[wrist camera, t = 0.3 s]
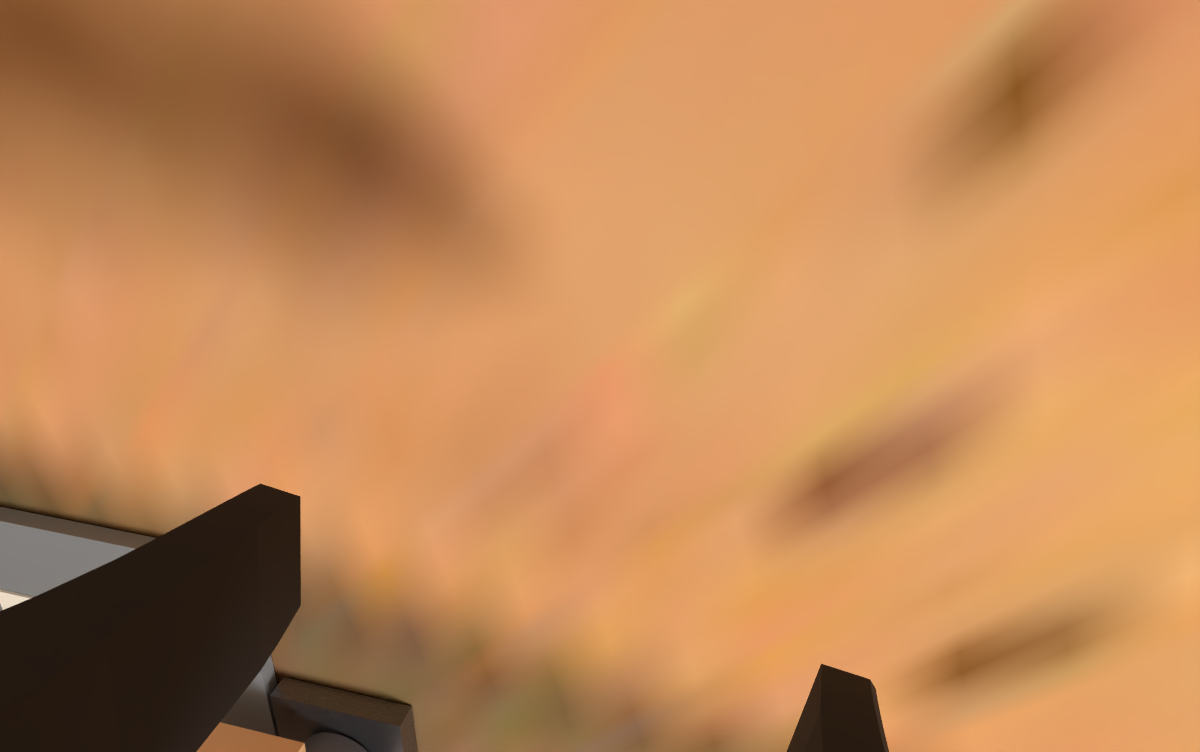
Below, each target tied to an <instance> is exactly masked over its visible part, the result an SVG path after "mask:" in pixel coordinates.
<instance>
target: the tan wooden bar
mask: <svg viewBox="0 0 1200 752" xmlns="http://www.w3.org/2000/svg"><path fill="white" fill-rule="evenodd" d="M197 752H367V751H366V750H365V749H364V748H363V747H362V746H360V745H359V744H358V743H356V742H354V741H353V740H351V739H349V738H347V737H344V736H342V735H339V734H335V733H327V732H323V733H317V734H314V735H312V736H310V737H309V738H308V739H307V740H306V742H305V743H302V742H298V741H294V740H290V739H286V738H282V737H278V736H274V735H270V734H266V733H262V732H258V731H253V730H249V729H245V728H241V727H237V726H233V725H229V724H225V723H221V722H220V723H219V724H218V725H217V727H216V728H215V729H214V730H213V732H212V733H211V734H210V735H209V737H208V738H207V739H206V740H205V742H204V743H203V744H202V745H201V747H200V748H199V749H198V750H197Z"/></svg>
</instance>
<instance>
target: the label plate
mask: <svg viewBox="0 0 1200 752" xmlns="http://www.w3.org/2000/svg"><path fill="white" fill-rule="evenodd" d="M154 539H156V538H154V537H149V536H144V535H139V534H134V533H129V532H124V531H119V530H115V529H110V528H105V527H100V526H95V525H90V524H85V523H80V522H75V521H70V520H65V519H60V518H55V517H50V516H45V515H40V514H35V513H30V512H25V511H20V510H15V509H10V508H5V507H0V611H2V610H4V609H7V608H9V607H11V606H14V605H16V604H19V603H21V602H23V601H26V600H28V599H31V598H33V597H35V596H38V595H40V594H42V593H44V592H46V591H48V590H51V589H53V588H55V587H57V586H59V585H61V584H63V583H66V582H68V581H70V580H72V579H74V578H76V577H79V576H81V575H83V574H85V573H87V572H89V571H91V570H94V569H96V568H98V567H100V566H102V565H104V564H107V563H109V562H111V561H113V560H115V559H117V558H119V557H121V556H123V555H125V554H127V553H129V552H131V551H133V550H135V549H136V548H138V547H140V546H142V545H144V544H146V543H148V542H150V541H152V540H154ZM276 687H277V680H276V676H275V671H274V667H273V662H272V658H271V655H270V657H269V658H268V660H267V662H266V663H265V665H264V666H263V668H262V669H261V671H260V672H259V673H258V675H257V676H256V677H255V678H254V680H253V681H252V682H251V684H250V685H249V686H248V688H247V689H246V690H245V691H244V693H243V694H242V695H241V696H240V698H239V699H238V700H237V701H236V703H235V704H234V705H233V707H232V708H231V709H230V710H229V712H228V713H227V714H226V715H225V717H224V718H223V719H222V720H221V723H225V724H229V725H233V726H237V727H241V728H245V729H249V730H253V731H258V732H262V733H266V734H270V735H274V736H278V737H279V733H278V729H277V725H276V720H275V716H274V711H273V707H272V703H271V698H270V695H271V693H272V692H273V691H274V689H275V688H276Z"/></svg>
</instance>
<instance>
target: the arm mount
mask: <svg viewBox="0 0 1200 752" xmlns="http://www.w3.org/2000/svg"><path fill="white" fill-rule="evenodd" d="M270 698H271V703H272V707H273V711H274V716H275V720H276V725H277V729H278V733H279V737H282V738H286V739H290V740H294V741H298V742H302V743H305V742H306V740H307V739H308V738H309V737H310V736H312V735H314V734H317V733H323V732H327V733H335V734H339V735H342V736H344V737H347V738H349V739H351V740H353V741H354V742H356V743H358V744H359V745H360V746H362V747H363V748H364V749H365V750H366V751H367V752H418V751H417V743H416V736H415V728H414V720H413V713H412V706H408V705H404V704H400V703H395V702H391V701H387V700H382V699H378V698H374V697H369V696H365V695H361V694H356V693H352V692H348V691H343V690H339V689H335V688H330V687H326V686H322V685H317V684H313V683H309V682H304V681H300V680H296V679H291V678H287V677H283V678H282V680H281V681H280V683H279V684H278V685H277V687H276V688H275V689H274V691H273V692H272V693H271V695H270Z"/></svg>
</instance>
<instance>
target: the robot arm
mask: <svg viewBox="0 0 1200 752" xmlns="http://www.w3.org/2000/svg"><path fill="white" fill-rule="evenodd" d="M300 605H301V571H300V496H297V495H294V494H291V493H288V492H285V491H281V490H278V489H275V488H272V487H269V486H266V485H263V484H259V485H257V486H255V487H253V488H251V489H249V490H247V491H245V492H243V493H241V494H239V495H237V496H235V497H233V498H232V499H230V500H228V501H226V502H224V503H222V504H220V505H218V506H217V507H215V508H213V509H211V510H209V511H207V512H205V513H203V514H202V515H200V516H198V517H196V518H194V519H192V520H190V521H188V522H186V523H185V524H183V525H181V526H179V527H177V528H175V529H173V530H171V531H169V532H168V533H166V534H164V535H162V536H160V537H158V538H156V539H154V540H152V541H150V542H148V543H146V544H144V545H142V546H140V547H138V548H136V549H135V550H133V551H131V552H129V553H127V554H125V555H123V556H121V557H119V558H117V559H115V560H113V561H111V562H109V563H107V564H104V565H102V566H100V567H98V568H96V569H94V570H91V571H89V572H87V573H85V574H83V575H81V576H79V577H76V578H74V579H72V580H70V581H68V582H66V583H63V584H61V585H59V586H57V587H55V588H53V589H51V590H48V591H46V592H44V593H42V594H40V595H38V596H35V597H33V598H31V599H28V600H26V601H23V602H21V603H19V604H16V605H14V606H11V607H9V608H7V609H4V610H2V611H0V752H197V750H198V749H199V748H200V747H201V745H202V744H203V743H204V742H205V740H206V739H207V738H208V737H209V735H210V734H211V733H212V732H213V730H214V729H215V728H216V727H217V725H218V724H219V723H220V722H221V720H222V719H223V718H224V717H225V715H226V714H227V713H228V712H229V710H230V709H231V708H232V707H233V705H234V704H235V703H236V701H237V700H238V699H239V698H240V696H241V695H242V694H243V693H244V691H245V690H246V689H247V688H248V686H249V685H250V684H251V682H252V681H253V680H254V678H255V677H256V676H257V675H258V673H259V672H260V671H261V669H262V668H263V666H264V665H265V663H266V662H267V660H268V658H269V657H270V655H271V654H272V652H273V650H274V649H275V647H276V646H277V644H278V643H279V641H280V639H281V638H282V636H283V634H284V633H285V631H286V629H287V627H288V626H289V624H290V622H291V621H292V619H293V617H294V616H295V614H296V612H297V610H298V609H299V607H300ZM787 752H889V750H888V746H887V742H886V738H885V733H884V729H883V724H882V720H881V715H880V710H879V705H878V700H877V694H876V689H875V687H874V685H873V684H872V682H871V680H870V679H867V678H864V677H861V676H858V675H854V674H851V673H848V672H845V671H842V670H839V669H836V668H833V667H830V666H826V665H823V664H821V666H820V669H819V671H818V674H817V676H816V679H815V681H814V684H813V686H812V689H811V691H810V694H809V697H808V699H807V702H806V704H805V707H804V709H803V712H802V714H801V717H800V719H799V722H798V724H797V727H796V730H795V732H794V735H793V737H792V740H791V742H790V745H789V747H788V750H787Z"/></svg>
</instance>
